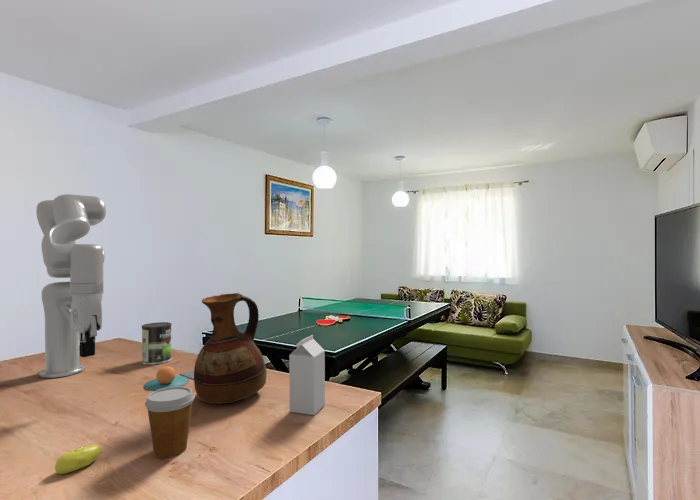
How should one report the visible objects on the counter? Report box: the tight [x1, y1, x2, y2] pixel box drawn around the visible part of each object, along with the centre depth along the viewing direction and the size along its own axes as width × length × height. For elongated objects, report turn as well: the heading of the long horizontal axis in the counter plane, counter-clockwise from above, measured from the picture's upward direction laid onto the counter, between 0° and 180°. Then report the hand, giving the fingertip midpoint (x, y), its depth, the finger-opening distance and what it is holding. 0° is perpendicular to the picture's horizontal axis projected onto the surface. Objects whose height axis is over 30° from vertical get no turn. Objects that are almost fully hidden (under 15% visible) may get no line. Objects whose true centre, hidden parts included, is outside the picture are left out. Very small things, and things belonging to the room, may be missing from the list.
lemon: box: [54, 443, 102, 475], centre depth 75 cm, size 4×8×4 cm, turn 145°
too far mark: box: [179, 369, 194, 381], centre depth 132 cm, size 10×10×1 cm
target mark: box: [143, 375, 190, 391], centre depth 123 cm, size 13×13×1 cm
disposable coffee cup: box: [144, 386, 195, 459], centre depth 81 cm, size 10×10×12 cm
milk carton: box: [288, 334, 326, 416], centre depth 102 cm, size 7×7×19 cm
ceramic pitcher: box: [193, 292, 267, 404], centre depth 112 cm, size 20×20×30 cm
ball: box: [155, 365, 176, 384], centre depth 122 cm, size 6×6×6 cm
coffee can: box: [141, 321, 172, 366], centre depth 148 cm, size 10×10×14 cm
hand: (87, 355), depth 106 cm, fingers closed
